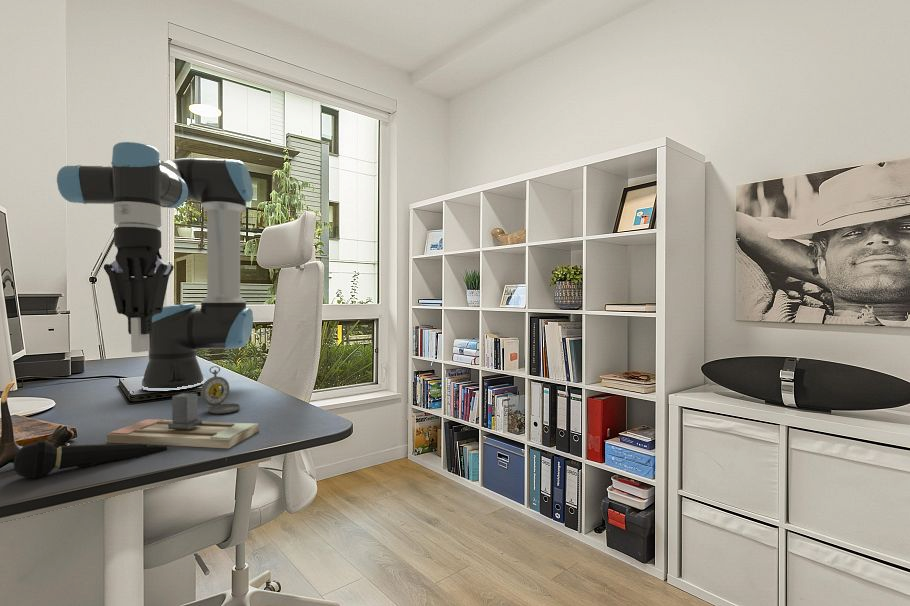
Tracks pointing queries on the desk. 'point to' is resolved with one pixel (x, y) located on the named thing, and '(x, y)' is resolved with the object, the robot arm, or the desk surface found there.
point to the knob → (184, 412)
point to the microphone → (73, 456)
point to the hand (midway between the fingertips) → (140, 351)
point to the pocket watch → (217, 394)
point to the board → (184, 434)
